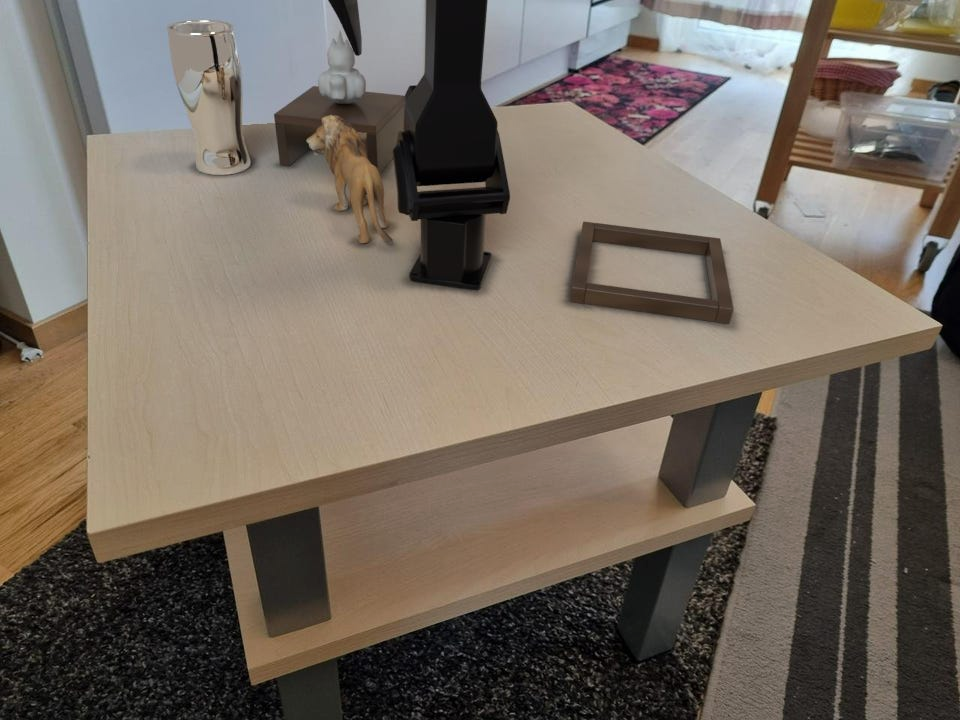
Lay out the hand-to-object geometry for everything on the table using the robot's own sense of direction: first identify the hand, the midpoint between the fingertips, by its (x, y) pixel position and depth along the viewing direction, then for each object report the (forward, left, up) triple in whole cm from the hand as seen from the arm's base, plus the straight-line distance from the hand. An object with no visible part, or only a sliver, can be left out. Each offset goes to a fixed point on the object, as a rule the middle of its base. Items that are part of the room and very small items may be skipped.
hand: (399, 58), depth 77 cm
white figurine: (+4, +8, -7) cm, 11 cm away
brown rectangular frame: (-17, -29, -13) cm, 36 cm away
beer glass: (-4, +20, -13) cm, 24 cm away
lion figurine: (-13, +1, -13) cm, 19 cm away
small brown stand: (+4, +8, -13) cm, 16 cm away
